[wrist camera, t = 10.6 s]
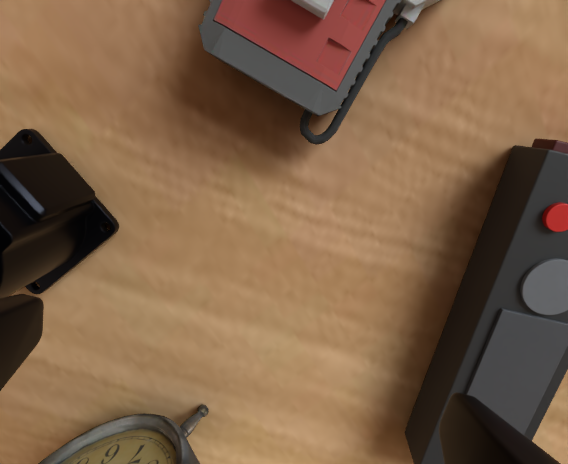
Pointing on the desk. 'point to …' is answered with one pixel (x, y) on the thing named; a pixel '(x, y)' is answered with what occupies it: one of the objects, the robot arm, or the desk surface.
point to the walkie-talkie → (306, 47)
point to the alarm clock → (132, 442)
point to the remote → (507, 306)
